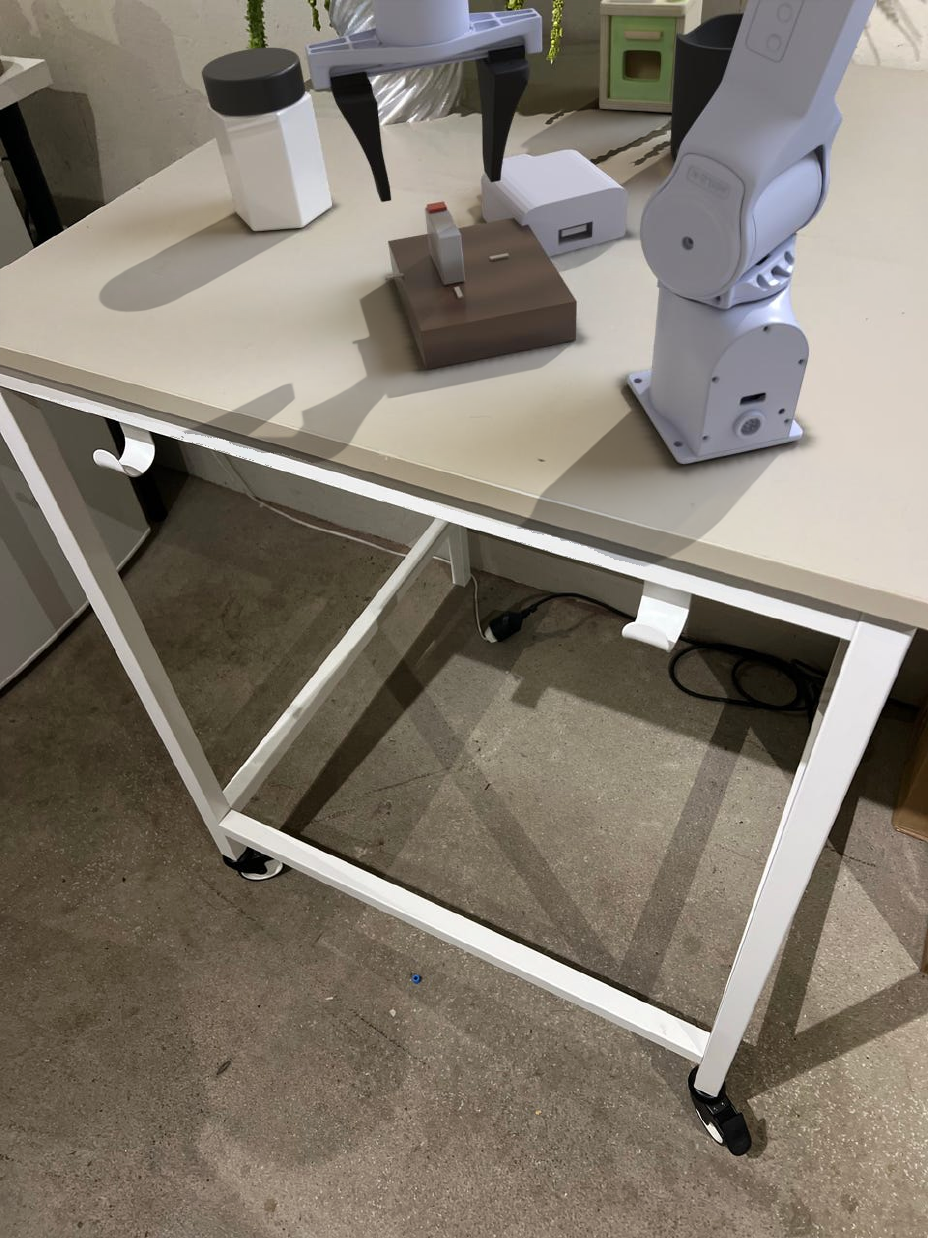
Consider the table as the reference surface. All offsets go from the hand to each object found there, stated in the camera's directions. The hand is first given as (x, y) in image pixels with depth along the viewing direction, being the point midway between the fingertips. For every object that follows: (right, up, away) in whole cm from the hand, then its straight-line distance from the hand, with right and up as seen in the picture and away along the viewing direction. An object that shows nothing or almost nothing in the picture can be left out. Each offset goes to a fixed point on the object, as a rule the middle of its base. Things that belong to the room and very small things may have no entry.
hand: (438, 185), depth 60 cm
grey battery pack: (0, -4, +4) cm, 6 cm away
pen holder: (+25, +13, +20) cm, 35 cm away
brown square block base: (+3, -6, +6) cm, 9 cm away
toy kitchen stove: (+21, +24, +31) cm, 44 cm away
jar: (-15, +8, +20) cm, 26 cm away
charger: (+8, +5, +16) cm, 19 cm away
